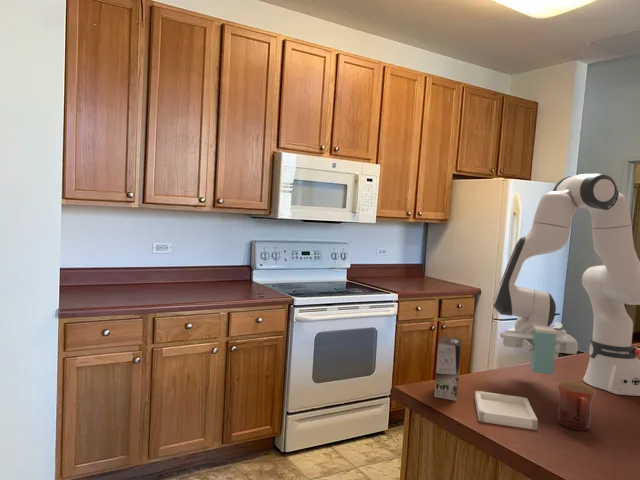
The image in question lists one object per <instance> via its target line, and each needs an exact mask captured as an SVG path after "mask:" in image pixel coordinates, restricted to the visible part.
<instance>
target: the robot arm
mask: <svg viewBox="0 0 640 480" xmlns="http://www.w3.org/2000/svg"><path fill="white" fill-rule="evenodd" d="M577 210H588V213H589V214H590V217H591V230H592V231H591V232H592V241H593V243H592V244H593V250H594V252H595V254H597V256H599V258H600V259H601V261H602V263H603V265H594V266H590V267H588V268H587V269H586V270H585V271H584V272H583V274H582V277H581V284H582V287H583V289H585V291H586V292H587V294H588V296H589V301H590V303H591V308H592V312H593V313H592V314H593V315H592V316H593V326H592V327H593V328H592V337H591V338H592V339H590V343H589V349H588V350H589V352H588V355H589V361H588V364H587V368H586V372H585V375H584V376H583V378H582V380H583V382H584V383H586V385H588V386H590V387H593V388H596V389H600V390H603V391H607V392H609V393H612V394H615V395H622V396H637V397H638V396H639V397H640V359H639V358H638V357H637V356H639V357H640V348H637V347H635V346H634V345H632V342H633V331H634V322H633V319H632V318H631V316H629V314H628V312H627V309H626V307H625V305H630V306H631V305H632V306H633V305H634V306H636V305H637V306H638V305H639V306H640V259H639V257H638V254H637V252H636V248H635V245H634V243H635V242H634V236H633V227H632V218H631V213H630V208H629V204H628V201H627V198H626V197H625V195H624V194H622V193H621V192H619V190H618V186H617V184H616V181H615V180H614V179H613V177H611V176H609V175H608V174H605V173H599V172H596V173H579V174H577V175H570V176H566V177H564V178H562V179H560V180H559V181H558V182H557V183H556V184H555V186H554V188H553V189H552V191H548V192H546V193H544V194H543V195H542V196H541V197H540V200H539V202H538V204H537V207H536V210H535V214H534V217H533V221H532V226H531V229H530V230H529V231H528V233H527V234H526V235H524V236H522V237H520V238H519V239H518V240H517V243H516V244H515V246H514V249H513V250H512V253H511V255H510V258H509V260H508V263H507V266H506V267H505V270H504V273H503V275H502V278H501V280H500V282H499V284H498V287H497V288H496V290H495V292H494V294H493V296H492V297H493V298H492V306H493V308H494V309H495V310H496V311H497V312H498V314H499V315H502V316H507V317H512V316H514V317H517V319H516V320H515V323H514V330H510V329H509V330H508V329H507V330H504V331H503V333H501V332H500V334H499V337H500V338H501V339H502V345H503V346H504V347H508V348H514V349H515V348H517V349H523V350H524V349H525V350H527V351H529V352H532V350H534V343H532V339H533V325H535V326H545V327H551V325H552V324H553V323H554V319H555V317H556V310H557V309H556V307H557V306H556V305H557V304H556V301H555V299H554V297H553V296H552V294H550V292H548V291H542V290H538V289H532V288H526V287H521V286H517V285H516V284H515V283H516V281H517V279H518V277H519V274H520V271H521V269H522V266H523V265H524V263H525V261H526V260H528V259H530V258H533V257H535V256H536V257H537V256H540V255H546V254H548V255H549V254H552V253H555V252H558V251H559V250H561V249H563V248H564V247H565V245H566V244H567V242H568V240H569V236H570V233H571V228H572V221H573V217H574V215H575V213H576V211H577ZM553 328H554V329H555V330H556V331H557V334H556V342H555V354H559V353H560V354H561V353H563V354H569V355H576V354H577V353H578V348H579V345H578V341H577V340H576V339H575V338H574V337H573V336H572V335H570V334H568V333H567V330H565V329H562V328H557V327H553Z"/></svg>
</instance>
